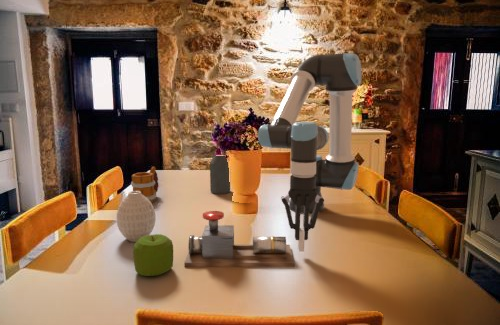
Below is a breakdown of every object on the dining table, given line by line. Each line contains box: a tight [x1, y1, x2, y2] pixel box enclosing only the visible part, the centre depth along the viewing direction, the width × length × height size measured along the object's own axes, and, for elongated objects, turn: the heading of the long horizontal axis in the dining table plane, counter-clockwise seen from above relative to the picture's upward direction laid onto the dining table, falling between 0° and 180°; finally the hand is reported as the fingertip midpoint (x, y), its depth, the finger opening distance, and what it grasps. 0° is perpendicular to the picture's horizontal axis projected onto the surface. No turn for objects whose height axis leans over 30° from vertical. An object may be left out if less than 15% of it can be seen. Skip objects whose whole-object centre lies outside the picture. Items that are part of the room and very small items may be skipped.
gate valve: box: [188, 210, 235, 260], centre depth 112 cm, size 13×9×13 cm, turn 90°
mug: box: [130, 166, 159, 203], centre depth 173 cm, size 11×16×15 cm, turn 158°
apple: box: [132, 233, 174, 277], centre depth 103 cm, size 11×11×11 cm
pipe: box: [252, 236, 287, 254], centre depth 113 cm, size 10×5×5 cm, turn 90°
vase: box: [116, 190, 157, 243], centre depth 126 cm, size 13×13×17 cm
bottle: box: [209, 152, 231, 195], centre depth 185 cm, size 10×10×30 cm
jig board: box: [184, 244, 295, 268], centre depth 113 cm, size 32×13×2 cm, turn 90°
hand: (301, 249), depth 113 cm, fingers closed
